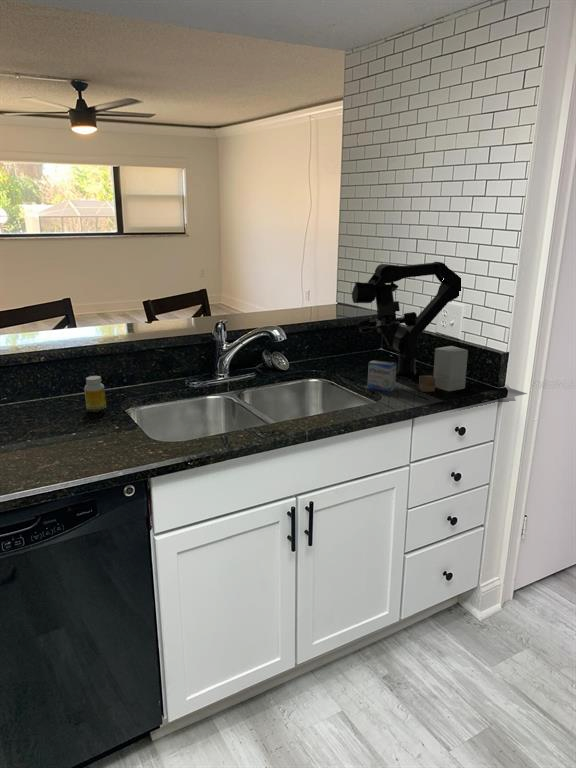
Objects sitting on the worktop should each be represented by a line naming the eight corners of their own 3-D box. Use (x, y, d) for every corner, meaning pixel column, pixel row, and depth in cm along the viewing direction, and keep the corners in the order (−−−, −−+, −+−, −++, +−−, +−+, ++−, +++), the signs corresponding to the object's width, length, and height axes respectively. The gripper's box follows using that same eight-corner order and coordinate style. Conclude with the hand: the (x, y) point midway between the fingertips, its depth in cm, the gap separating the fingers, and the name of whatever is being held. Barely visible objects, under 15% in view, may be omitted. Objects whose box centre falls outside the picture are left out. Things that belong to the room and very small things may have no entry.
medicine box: (366, 388, 180) (368, 362, 177) (371, 385, 183) (372, 359, 181) (391, 392, 176) (392, 365, 173) (395, 388, 180) (396, 362, 177)
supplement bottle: (85, 408, 162) (81, 376, 159) (104, 405, 164) (101, 374, 162) (88, 414, 157) (85, 381, 155) (108, 411, 160) (105, 378, 157)
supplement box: (465, 388, 179) (469, 349, 176) (448, 392, 176) (451, 352, 172) (449, 382, 186) (452, 345, 182) (431, 386, 182) (434, 347, 178)
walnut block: (418, 387, 180) (419, 375, 179) (431, 387, 180) (432, 375, 179) (421, 391, 176) (422, 379, 175) (434, 391, 176) (435, 379, 175)
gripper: (354, 298, 180) (359, 344, 177) (413, 288, 177) (420, 336, 173) (357, 310, 191) (362, 354, 187) (413, 301, 187) (420, 346, 184)
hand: (390, 347), depth 182 cm, fingers closed
